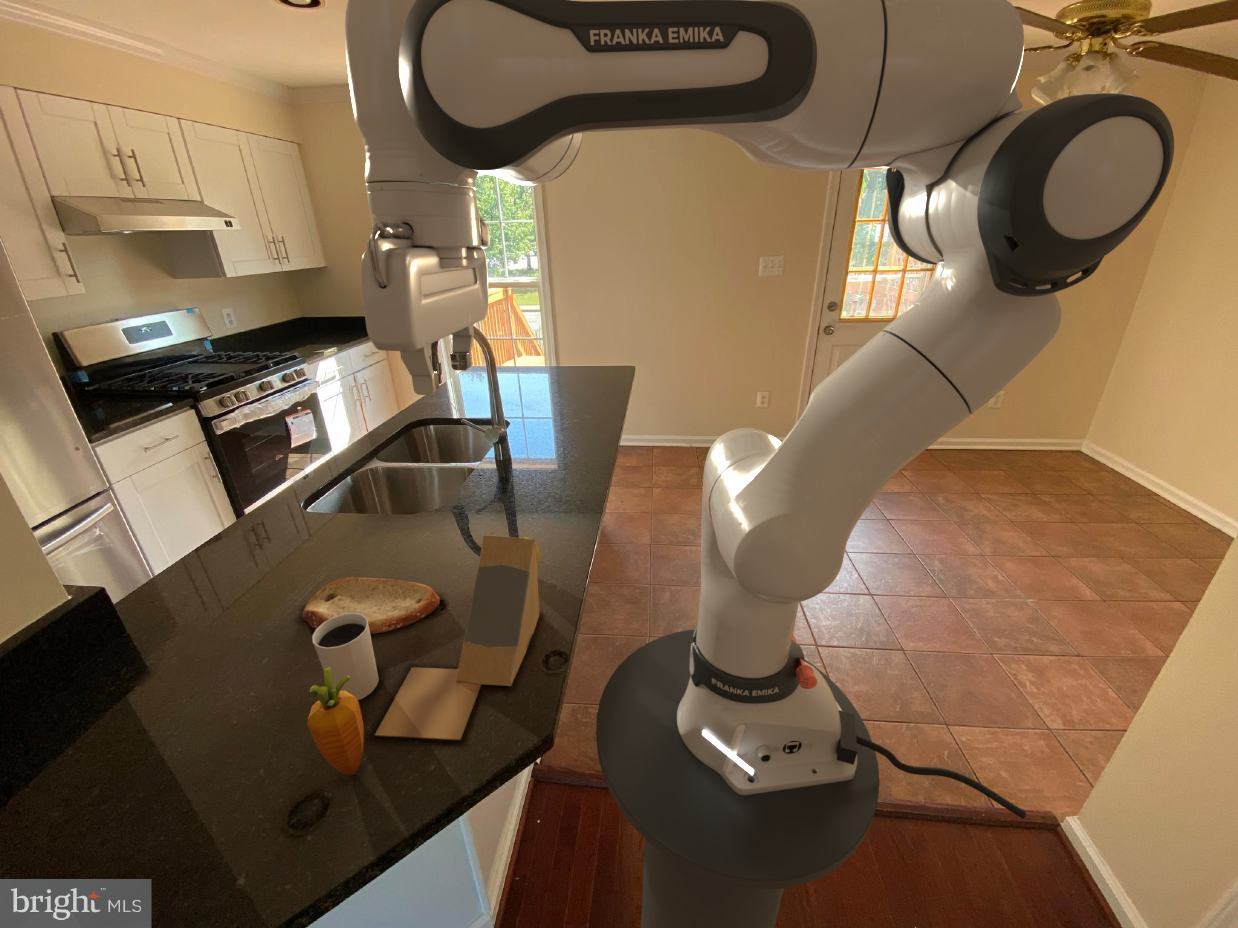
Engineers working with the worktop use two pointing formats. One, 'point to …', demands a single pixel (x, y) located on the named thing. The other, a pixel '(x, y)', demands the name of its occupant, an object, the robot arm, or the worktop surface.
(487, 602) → the sandwich container
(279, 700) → the worktop surface
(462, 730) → the cork coaster
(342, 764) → the carrot
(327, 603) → the slice of bread
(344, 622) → the white coffee cup
